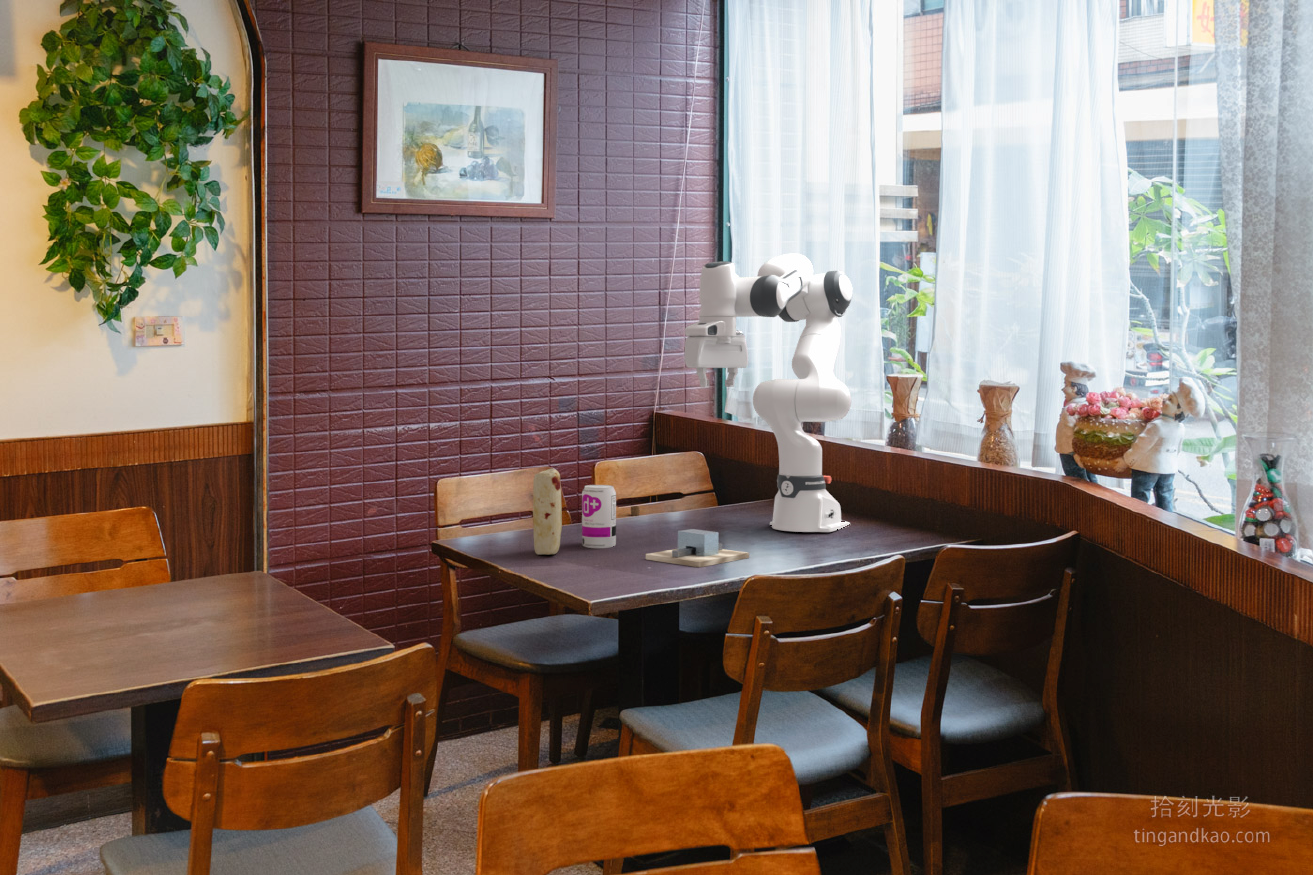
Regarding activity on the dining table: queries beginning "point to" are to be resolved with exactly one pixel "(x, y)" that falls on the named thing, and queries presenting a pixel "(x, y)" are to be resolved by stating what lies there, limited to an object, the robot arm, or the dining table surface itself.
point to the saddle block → (699, 541)
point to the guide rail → (688, 551)
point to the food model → (547, 512)
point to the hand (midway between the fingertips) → (717, 387)
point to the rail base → (698, 558)
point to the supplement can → (598, 516)
